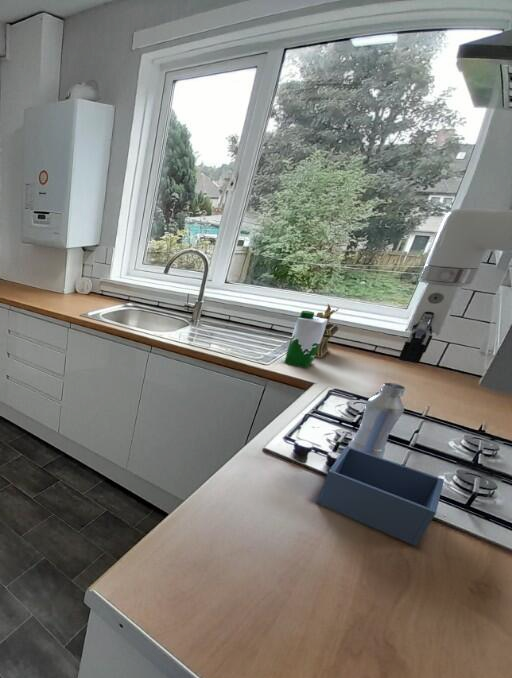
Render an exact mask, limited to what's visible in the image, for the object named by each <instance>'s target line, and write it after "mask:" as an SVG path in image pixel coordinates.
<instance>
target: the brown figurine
mask: <svg viewBox="0 0 512 678" xmlns="http://www.w3.org/2000/svg"><path fill="white" fill-rule="evenodd" d="M339 309H340V307H338V308H337V309H336V310H335V309H332V308H331V305H330V304H329V303H327V307H326V309H325V310H324V313H323V312H322V311H321V312H320V311H319V312H317V313H316V316H315V317H319V318H323V319H328V320H327V324H326V327H325V331H324V334H323V337H322V340H321V342H320V345H319V348H318V351H317V353H316V355H315V357H314V358H323V356H324V355H326V354H327V352H328V351H329V348H328V343H329V341H330V339H331V338H332V337H333V336H334V335H335V334H336V333H337V332H338V331H339V329H340V327H338V325H336V324H335V323H330V319H331V317H332V315H333V314H334V313H336V312H338V311H339Z"/></svg>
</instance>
